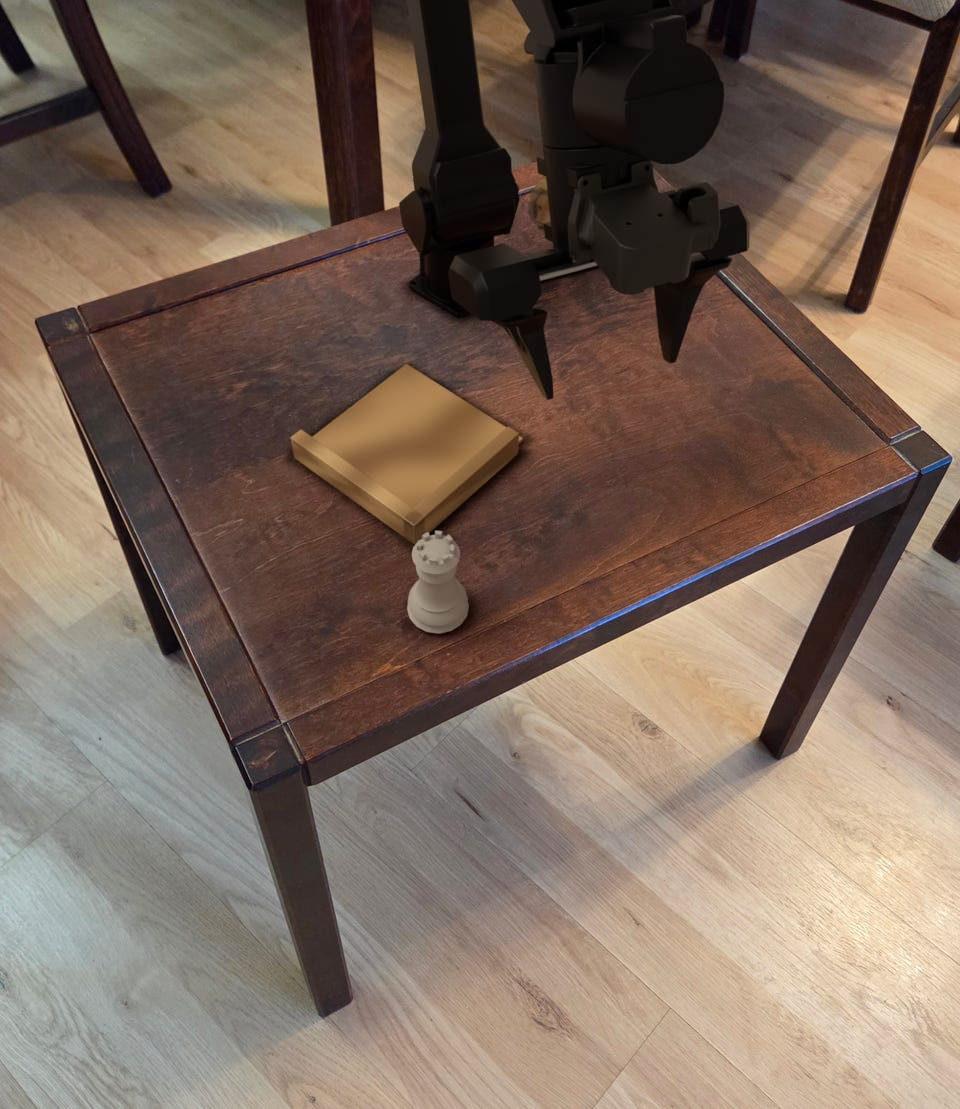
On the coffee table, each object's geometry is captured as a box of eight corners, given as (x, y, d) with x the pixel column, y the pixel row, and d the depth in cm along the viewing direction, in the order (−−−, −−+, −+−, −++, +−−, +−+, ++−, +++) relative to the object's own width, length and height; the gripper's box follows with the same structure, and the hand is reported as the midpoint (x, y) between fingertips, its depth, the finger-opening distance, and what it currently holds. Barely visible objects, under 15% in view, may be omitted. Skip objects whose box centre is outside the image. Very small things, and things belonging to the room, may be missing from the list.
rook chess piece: (477, 595, 77) (478, 529, 71) (456, 644, 75) (455, 581, 68) (420, 578, 78) (416, 511, 72) (398, 626, 76) (392, 562, 69)
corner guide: (291, 456, 85) (287, 435, 83) (406, 366, 91) (405, 345, 89) (415, 545, 80) (414, 525, 78) (528, 444, 86) (530, 423, 84)
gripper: (496, 197, 54) (531, 464, 62) (805, 122, 59) (799, 381, 67) (427, 163, 63) (465, 401, 72) (699, 100, 68) (705, 331, 76)
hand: (609, 379), depth 71 cm, fingers open, 9 cm apart
